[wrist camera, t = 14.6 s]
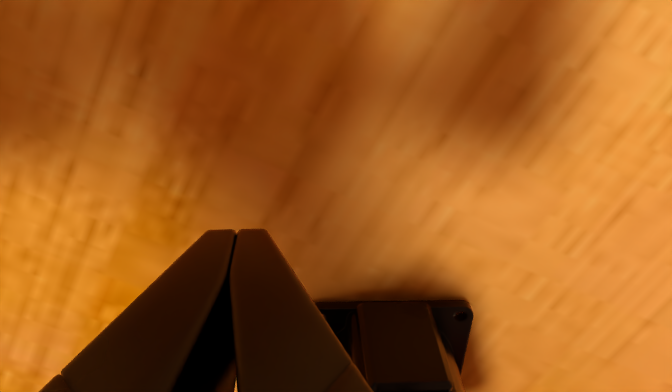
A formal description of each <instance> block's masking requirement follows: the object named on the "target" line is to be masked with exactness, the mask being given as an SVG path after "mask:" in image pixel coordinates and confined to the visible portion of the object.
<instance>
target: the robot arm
mask: <svg viewBox="0 0 672 392" xmlns="http://www.w3.org/2000/svg"><path fill="white" fill-rule="evenodd" d="M459 312H463V313H461V314H458V315H456V314H457V313H459ZM322 314H323V315H322ZM472 320H473V311H472V309H471V306H470V305H469V303H468V302H466V301H462V300H433V301H355V302H316V303H314V302H313V300H312V299H311V297H310V296H309V294H308V293H307V291H306V289H305V288H304V286H303V285H302V283H301V282H300V280H299V279H298V277H297V276H296V274H295V273H294V271H293V270H292V268H291V267H290V265H289V263H288V262H287V260H286V259H285V257H284V256H283V254H282V253H281V251H280V250H279V248H278V247H277V245H276V244H275V242H274V241H273V239H272V238H271V236H270V234H269V233H268V232H267V230H265V229H241V230H239V231H238V232H237V233H236V231H235V230H232V229H224V230H208V231H206V232H205V233H204V234H203V235H202V236H201V237H200V238H199V239H198V240H197V241H196V242H195V243H194V244H193V245H191V246H190V247H189V248H188V249H187V250H186V251H185V252H184V253H183V254H182V255H181V256H180V257H179V258H178V259H177V260H176V261H175V262H174V263H173V264H172V265H171V266H170V267H169V268H168V269H167V270H165V271H164V272H163V273H162V274H161V275H160V276H159V277H158V278H157V279H156V280H155V281H154V282H153V283H152V284H151V285H150V286H149V287H148V288H147V289H146V290H145V291H144V292H143V293H142V294H140V295H139V296H138V297H137V298H136V299H135V300H134V301H133V302H132V303H131V304H130V305H129V306H128V307H127V308H126V309H125V310H124V311H123V312H122V313H121V314H120V315H119V316H118V317H117V318H116V319H114V320H113V321H112V322H111V323H110V324H109V325H108V326H107V327H106V328H105V329H104V330H103V331H102V332H101V333H100V334H99V335H98V336H97V337H96V338H95V339H94V340H93V341H92V342H91V343H90V344H88V345H87V346H86V347H85V348H84V349H83V350H82V351H81V352H80V353H79V354H78V355H77V356H76V357H75V358H74V359H73V360H72V361H71V362H70V363H69V364H68V365H67V366H66V367H65V368H64V369H62V371H61V375H60V374H58V375H56V376H55V377H54V378H53V379H52V380H51V381H50V382H49V383H48V384H47V385H45V386H44V387H43V388H42V389H41V390H40V391H39V392H234V388H235V382H236V380H237V391H238V392H465V389H464V386H463V382H462V379H461V376H460V375H461V370H462V366H463V361H464V356H465V352H466V347H467V343H468V338H469V334H470V329H471V325H472Z"/></svg>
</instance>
